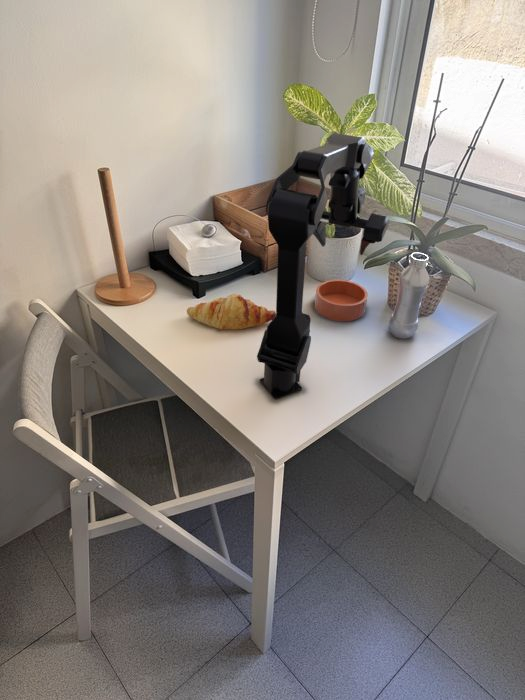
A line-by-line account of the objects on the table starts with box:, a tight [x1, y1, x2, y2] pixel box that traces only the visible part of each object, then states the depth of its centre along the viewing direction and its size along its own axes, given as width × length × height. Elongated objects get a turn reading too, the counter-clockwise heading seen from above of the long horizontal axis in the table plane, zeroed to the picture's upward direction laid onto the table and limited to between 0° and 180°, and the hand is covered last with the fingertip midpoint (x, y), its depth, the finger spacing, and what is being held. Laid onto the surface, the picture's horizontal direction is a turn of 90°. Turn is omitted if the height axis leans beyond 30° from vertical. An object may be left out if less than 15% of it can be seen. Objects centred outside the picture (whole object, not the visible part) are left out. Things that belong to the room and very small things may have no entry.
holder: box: [314, 279, 369, 322], centre depth 127 cm, size 13×13×4 cm
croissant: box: [186, 293, 276, 330], centre depth 120 cm, size 21×10×8 cm, turn 87°
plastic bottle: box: [388, 252, 430, 339], centre depth 114 cm, size 6×7×20 cm
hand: (342, 249), depth 118 cm, fingers open, 9 cm apart
